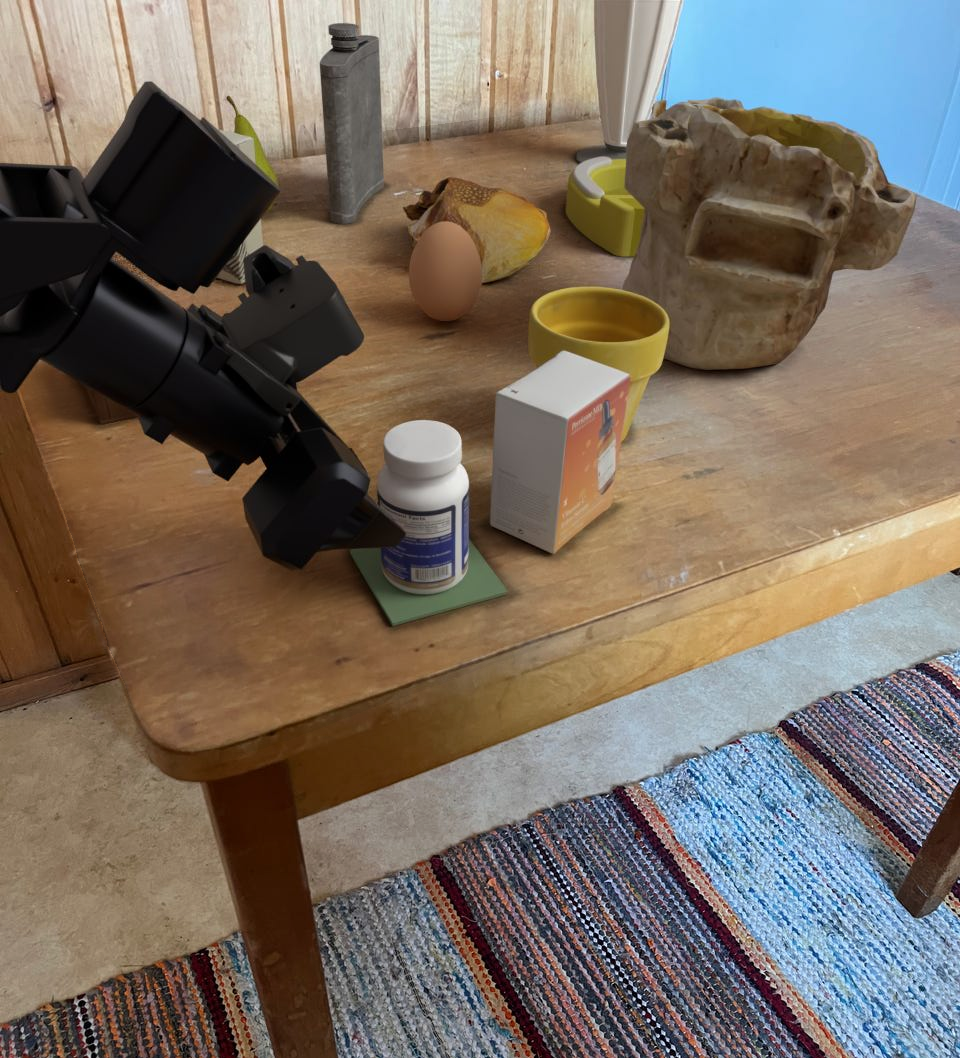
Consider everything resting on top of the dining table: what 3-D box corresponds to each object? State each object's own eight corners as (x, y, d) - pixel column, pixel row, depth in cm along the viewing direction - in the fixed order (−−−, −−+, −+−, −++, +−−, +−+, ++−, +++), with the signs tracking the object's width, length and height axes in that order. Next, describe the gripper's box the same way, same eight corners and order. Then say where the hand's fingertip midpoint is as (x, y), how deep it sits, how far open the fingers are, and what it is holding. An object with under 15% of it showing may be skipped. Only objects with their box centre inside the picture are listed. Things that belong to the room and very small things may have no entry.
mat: (392, 626, 61) (392, 622, 61) (350, 553, 66) (349, 550, 66) (507, 594, 64) (507, 591, 64) (457, 526, 69) (458, 523, 69)
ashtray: (582, 256, 105) (586, 208, 102) (557, 190, 121) (560, 146, 117) (731, 256, 107) (741, 209, 103) (688, 191, 122) (695, 147, 118)
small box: (553, 557, 67) (566, 420, 60) (487, 526, 69) (493, 391, 62) (614, 505, 72) (634, 372, 64) (551, 477, 74) (563, 347, 67)
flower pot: (584, 384, 85) (597, 272, 78) (676, 433, 79) (699, 318, 72) (496, 423, 80) (501, 307, 73) (587, 478, 74) (603, 358, 67)
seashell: (566, 195, 107) (542, 219, 95) (551, 265, 111) (525, 298, 99) (421, 158, 108) (379, 177, 96) (411, 229, 112) (369, 256, 100)
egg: (444, 341, 90) (445, 243, 84) (394, 317, 93) (392, 221, 87) (495, 319, 94) (499, 224, 87) (445, 297, 97) (446, 203, 91)
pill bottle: (415, 533, 68) (412, 404, 61) (484, 563, 66) (490, 433, 59) (363, 576, 64) (354, 444, 57) (434, 609, 62) (434, 476, 55)
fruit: (276, 226, 109) (264, 107, 101) (224, 224, 109) (207, 105, 101) (285, 208, 113) (273, 92, 105) (234, 206, 113) (219, 90, 105)
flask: (320, 221, 111) (306, 38, 98) (358, 180, 121) (349, 10, 109) (351, 225, 110) (341, 41, 98) (386, 183, 120) (381, 12, 108)
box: (201, 275, 99) (178, 137, 90) (229, 260, 102) (209, 125, 93) (243, 286, 97) (224, 147, 88) (270, 271, 100) (254, 135, 91)
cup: (607, 179, 124) (630, -25, 109) (559, 153, 131) (574, -42, 117) (680, 167, 128) (711, -30, 114) (629, 142, 136) (652, -46, 121)
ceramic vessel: (895, 207, 95) (980, 1, 71) (835, 438, 93) (902, 305, 68) (666, 170, 100) (672, -35, 76) (602, 389, 97) (587, 249, 73)
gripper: (312, 303, 40) (533, 477, 51) (205, 163, 52) (402, 327, 63) (152, 505, 43) (395, 628, 54) (86, 326, 55) (295, 457, 66)
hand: (372, 496), depth 59 cm, fingers open, 9 cm apart
